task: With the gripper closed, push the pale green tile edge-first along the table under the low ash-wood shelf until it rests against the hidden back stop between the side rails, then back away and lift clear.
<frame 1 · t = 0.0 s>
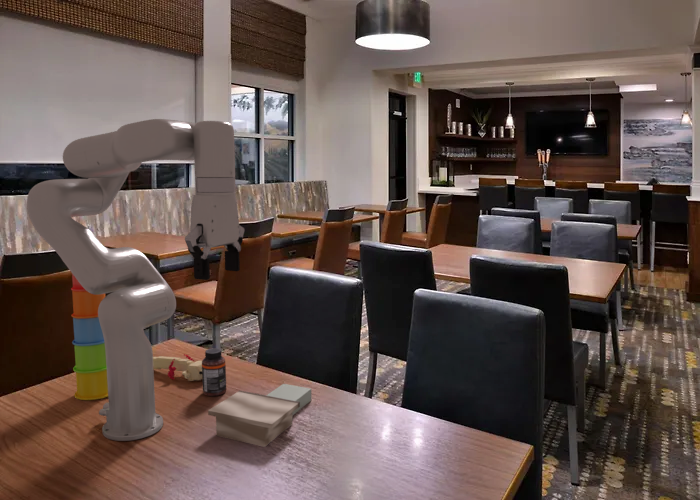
hand: (217, 274, 110), 37 cm above the table, tool pointing down, fingers open, 9 cm apart
supplement bottle: (214, 393, 145), on the table
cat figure: (174, 375, 158), on the table
pale green tile: (285, 406, 137), on the table
stacking cups: (96, 394, 144), on the table
shelf: (258, 426, 126), on the table
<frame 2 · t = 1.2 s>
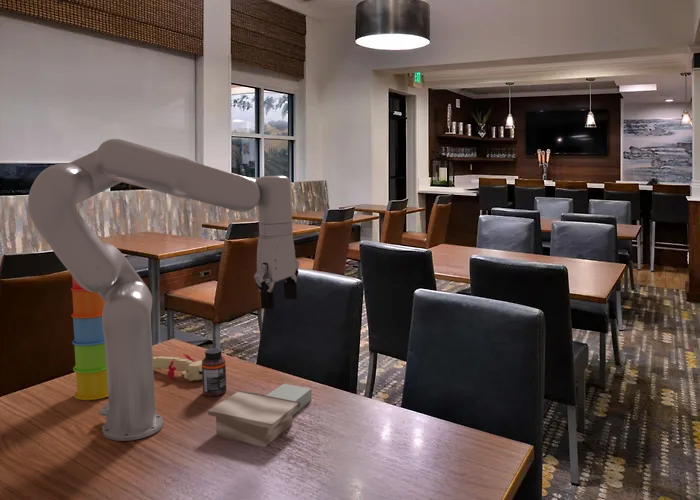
hand: (279, 303, 130), 26 cm above the table, tool pointing down, fingers open, 9 cm apart
nothing on the table moved.
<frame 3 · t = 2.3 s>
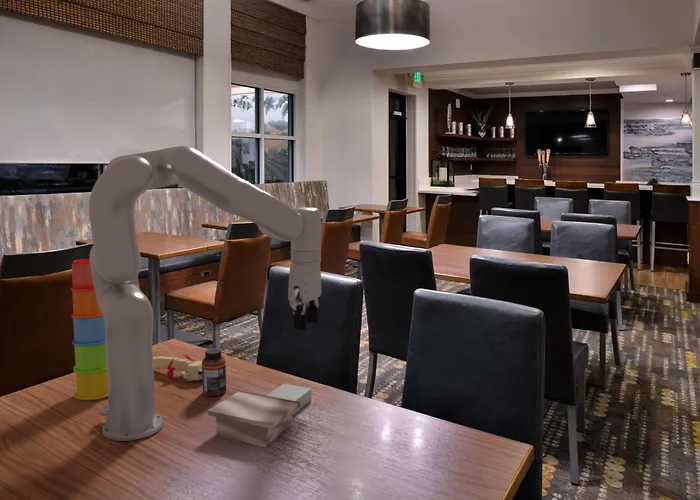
hand: (306, 325, 144), 18 cm above the table, tool pointing down, fingers open, 5 cm apart
nothing on the table moved.
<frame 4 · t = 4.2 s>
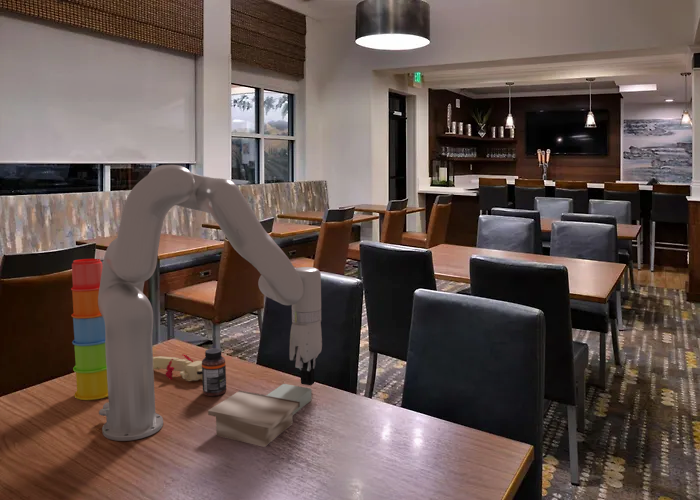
hand: (307, 383, 147), 2 cm above the table, tool pointing down, fingers closed
nothing on the table moved.
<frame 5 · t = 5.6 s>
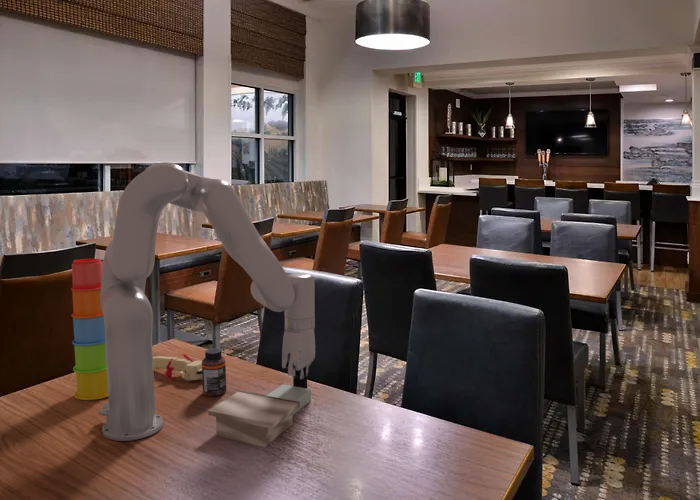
hand: (300, 391, 143), 1 cm above the table, tool pointing down, fingers closed
pale green tile: (284, 407, 136), on the table, touching gripper
everything else where it was.
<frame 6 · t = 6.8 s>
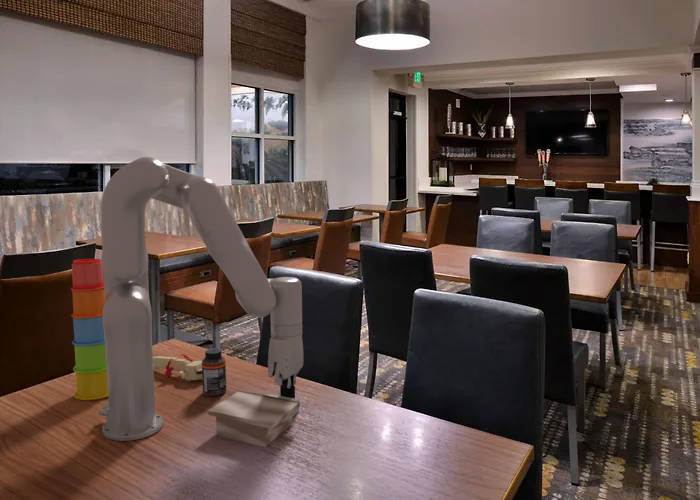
hand: (287, 401, 137), 1 cm above the table, tool pointing down, fingers closed
pale green tile: (271, 418, 130), on the table, touching gripper
everything else where it was.
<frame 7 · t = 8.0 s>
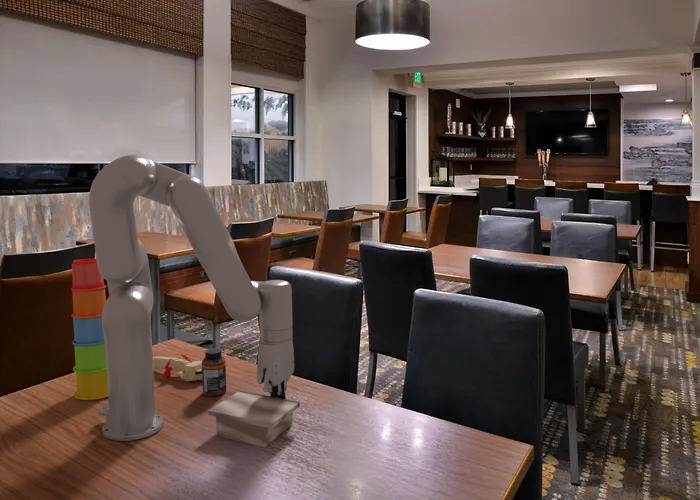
hand: (278, 408, 133), 1 cm above the table, tool pointing down, fingers closed
pale green tile: (260, 426, 126), on the table, touching gripper, shelf
everything else where it was.
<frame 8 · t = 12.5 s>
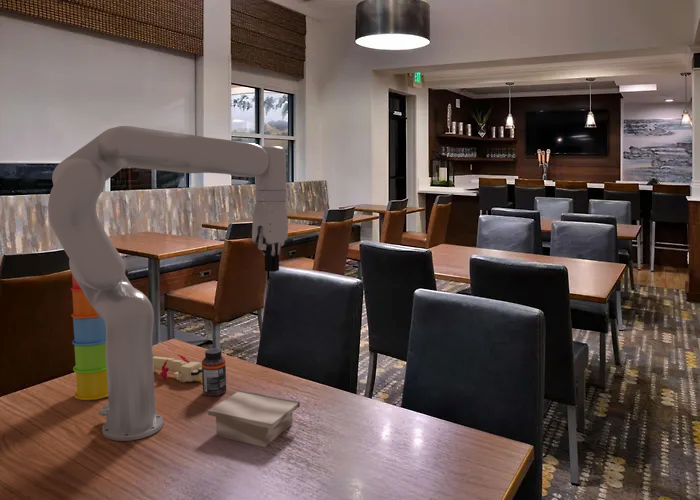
hand: (271, 270, 140), 32 cm above the table, tool pointing down, fingers closed
pale green tile: (260, 426, 126), on the table
at the end: pale green tile 0.7 cm off-centre on the shelf, point 0.0 cm above the shelf's base; pale green tile tilted 0°; the gripper is holding nothing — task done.
